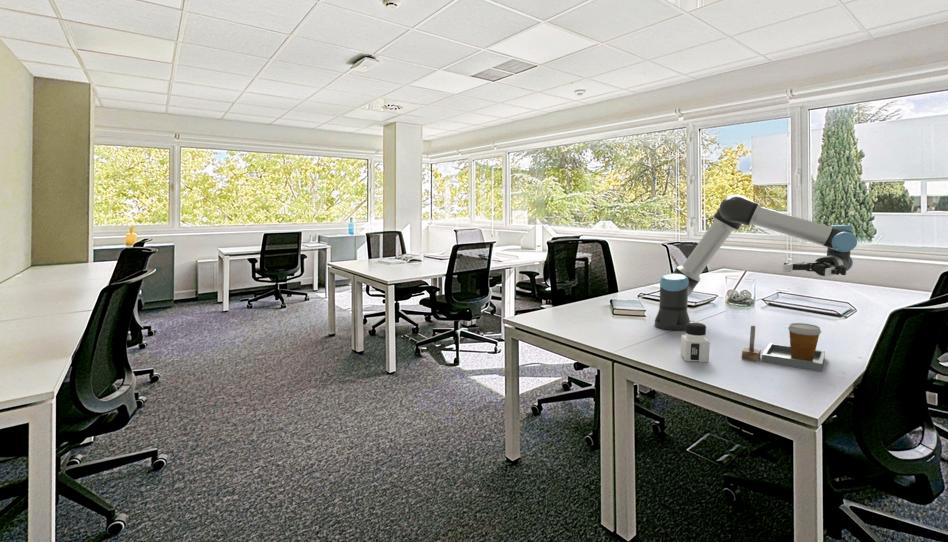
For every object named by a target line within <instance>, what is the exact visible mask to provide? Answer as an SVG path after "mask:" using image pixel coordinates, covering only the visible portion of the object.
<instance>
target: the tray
mask: <svg viewBox="0 0 948 542" xmlns="http://www.w3.org/2000/svg"><path fill="white" fill-rule="evenodd" d="M825 355H826V351H825V350H818V349H816V350H815V354H814V358H813V361H805V360H799V359H793V358H791V347H790V345H786V344H785V345H783V344H778V343H770V342H769V343H768V345H767V346H766V347H765V349H764V351H763V352H762V355H761V362H762V363H768V364H775V365H778V366H779V365H780V366H786V367H792V368H799V369H802V370H803V369H804V370H808V371H809V370H810V371H817V372H822V371H823V366H824V362H825V357H826V356H825Z"/></svg>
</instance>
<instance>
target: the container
mask: <svg viewBox="0 0 948 542" xmlns="http://www.w3.org/2000/svg"><path fill="white" fill-rule="evenodd" d="M706 334H707V326H706V325H705V324H704V323H702V322H694V321H690V323H687V324H686V330H685V334H682V335H681V336H680V337H681V340H680V356H681V358H683V361H685V362H689V361H699V362H698V363H709V362H710V360H709V359H710V346H711V345H710V344H711V343H710V340H708V339H707V338H706V336H707V335H706Z"/></svg>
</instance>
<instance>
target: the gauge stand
mask: <svg viewBox="0 0 948 542" xmlns="http://www.w3.org/2000/svg"><path fill="white" fill-rule="evenodd" d="M749 333H750V334H749V336H750V337H749V347H744V348H743V350H742V351H741V360H745V361H752V362H756V361H757V362H759V361H760V359H761V349H757V348H755V341H756V340H755V338H756V325H754V324H753V325H750V332H749Z"/></svg>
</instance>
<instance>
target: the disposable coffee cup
mask: <svg viewBox="0 0 948 542" xmlns="http://www.w3.org/2000/svg"><path fill="white" fill-rule="evenodd" d="M787 329H788V332H789V344H790V345H789V346H790V347H791V358H793V359H799V360H805V361H813V358H814V354H815V350H817V345H818V341H819V337H820V334H821V333H822V330H821V328H820V326H818V325H816V324H811V323H803V322H802V323H801V322H793V323H789V326H788V327H787Z"/></svg>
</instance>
